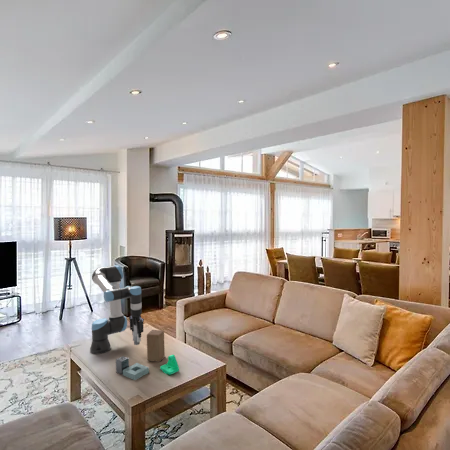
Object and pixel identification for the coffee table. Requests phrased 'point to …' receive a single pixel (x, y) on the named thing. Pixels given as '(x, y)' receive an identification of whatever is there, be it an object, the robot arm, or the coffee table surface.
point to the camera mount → (170, 365)
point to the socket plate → (135, 371)
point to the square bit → (121, 364)
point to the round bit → (135, 335)
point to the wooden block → (155, 345)
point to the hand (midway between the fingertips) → (136, 340)
